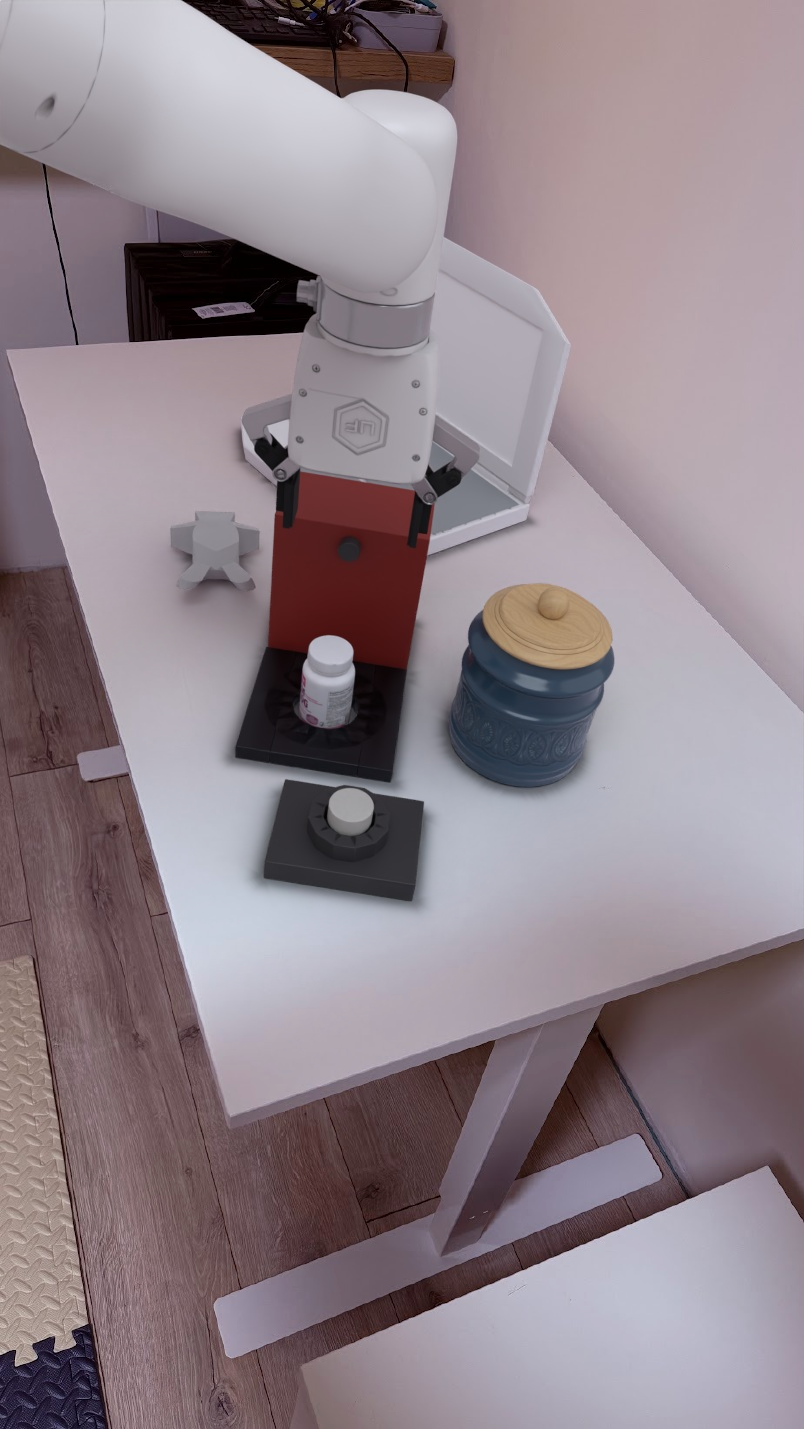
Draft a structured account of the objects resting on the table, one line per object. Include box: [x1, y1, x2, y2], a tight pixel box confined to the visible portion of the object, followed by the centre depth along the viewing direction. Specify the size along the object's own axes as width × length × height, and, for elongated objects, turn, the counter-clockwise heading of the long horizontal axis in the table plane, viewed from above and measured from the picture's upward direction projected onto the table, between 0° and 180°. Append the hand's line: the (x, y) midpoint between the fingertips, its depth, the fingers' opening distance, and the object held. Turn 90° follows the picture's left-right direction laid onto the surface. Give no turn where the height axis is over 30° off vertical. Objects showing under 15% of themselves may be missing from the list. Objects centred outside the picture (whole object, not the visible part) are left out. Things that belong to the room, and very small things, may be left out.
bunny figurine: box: [169, 510, 261, 592], centre depth 108 cm, size 10×5×15 cm
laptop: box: [239, 236, 572, 556], centre depth 118 cm, size 33×24×26 cm
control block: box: [263, 778, 425, 902], centre depth 83 cm, size 12×9×4 cm
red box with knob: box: [267, 471, 435, 670], centre depth 98 cm, size 14×9×16 cm, turn 84°
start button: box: [327, 788, 374, 836], centre depth 81 cm, size 4×4×2 cm
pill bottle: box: [298, 635, 355, 729], centre depth 92 cm, size 5×5×8 cm
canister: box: [448, 582, 615, 788], centre depth 90 cm, size 13×13×18 cm
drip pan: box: [234, 646, 408, 783], centre depth 95 cm, size 14×14×2 cm
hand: (351, 528), depth 79 cm, fingers open, 9 cm apart
